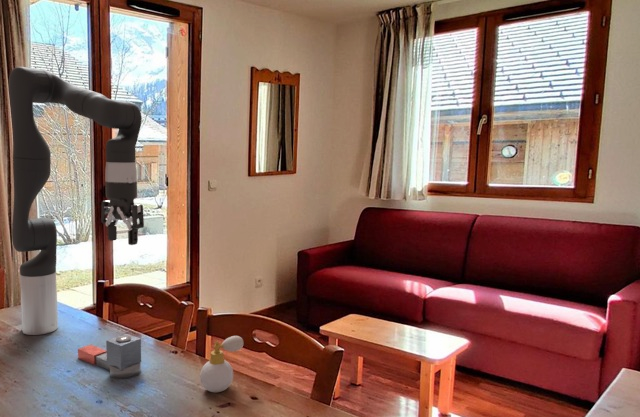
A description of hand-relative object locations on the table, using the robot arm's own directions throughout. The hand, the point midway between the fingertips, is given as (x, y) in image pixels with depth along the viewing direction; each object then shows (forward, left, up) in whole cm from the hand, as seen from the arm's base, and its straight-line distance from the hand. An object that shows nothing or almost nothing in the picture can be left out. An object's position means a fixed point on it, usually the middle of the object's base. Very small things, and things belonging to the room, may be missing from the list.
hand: (122, 242), depth 132 cm
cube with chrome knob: (+10, -7, -28) cm, 30 cm away
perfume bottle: (+34, +1, -30) cm, 46 cm away
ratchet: (+3, -7, -30) cm, 31 cm away
